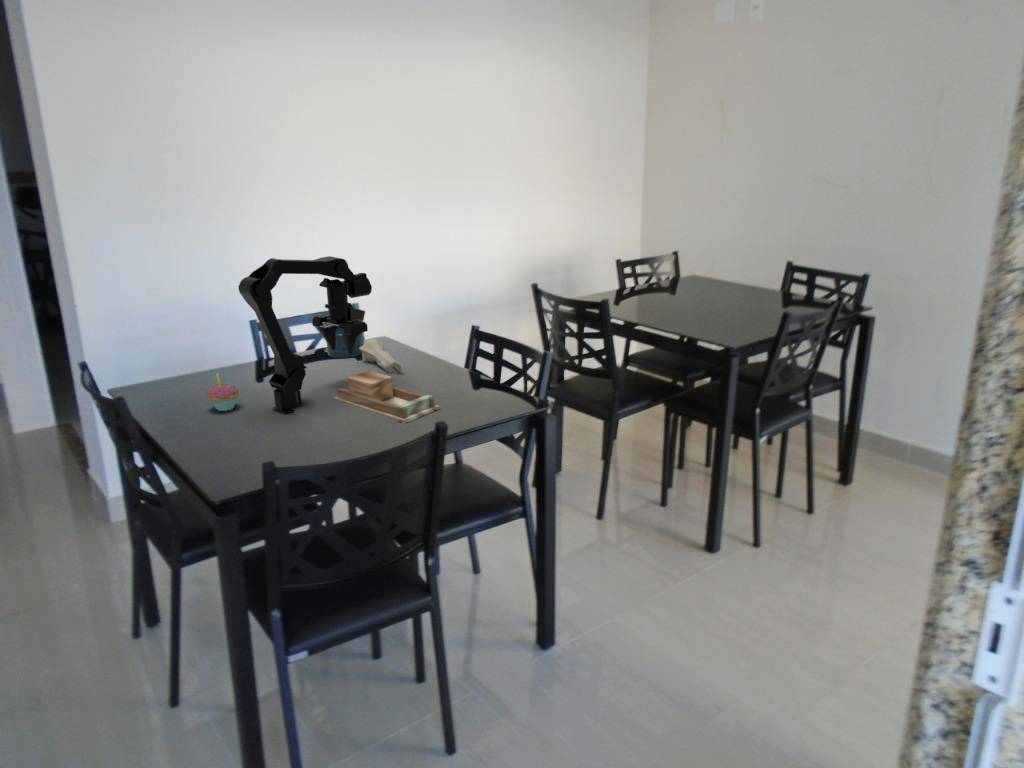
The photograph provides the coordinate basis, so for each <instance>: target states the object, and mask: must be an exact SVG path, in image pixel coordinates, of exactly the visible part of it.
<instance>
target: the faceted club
mask: <svg viewBox="0 0 1024 768" xmlns="http://www.w3.org/2000/svg"><path fill="white" fill-rule="evenodd" d="M359 349H360V350H361V351H362V354H361V356H362V358H363V359H365V360H366V361H368V362H371V363H374V362H376V363H377V365H378V366H380V367H382V368H383V370H385V372H387V373H392V374H398V373H399V372H401V371H402V370H403V369H402V363H401V362H400V361H398V360H396V359H394V358H393V357H392V356H391V354H390V353H389V352H388V351H386V350H385V346H384V342H383V341H381V340H380V339H379V338H376V337H374V338H370V339H366V340H365V342H363V346H361V347H360V348H359Z"/></svg>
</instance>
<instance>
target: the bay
mask: <svg viewBox="0 0 1024 768" xmlns="http://www.w3.org/2000/svg"><path fill="white" fill-rule="evenodd" d="M336 390H337V396H335V397H333V399H335V400H338V401H341V402H345V403H348V404H350V405H354V406H357V407H360V408H363V409H366V410H369V411H372V412H375V413H378V414H381V415H385V416H388V417H391V418H393V419H397V420H398V421H397V423H399V422H401V423H400V424H402V423H403V425H405V424H407V423H406V422H408V423H410V422H412V421H414V419H415V420H417V419H420V418H422V417H424V416H423V415H425V414H427V413H430V412H432V411H434V410H437V409H439V408H440V409H441V406H440V405H437V404H435V397H434V395H431V394H426V395H425V394H422V393H418V392H415V391H411V390H408V389H405V388H401V387H397V386H394V385H393V397H390V398H387V399H385V400H382V401H381V400H378V399H375V398H371V397H368V396H365V395H362V394H358V393H355V392H352V391H349V389H345V388H338V389H336ZM440 409H439V410H440ZM437 411H438V410H437ZM434 412H435V411H434ZM432 413H433V412H432ZM430 414H431V413H430ZM427 415H428V414H427ZM421 416H422V417H421ZM425 416H426V415H425ZM419 417H420V418H419ZM416 418H417V419H416ZM409 421H410V422H409ZM404 423H405V424H404Z"/></svg>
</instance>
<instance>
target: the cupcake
mask: <svg viewBox="0 0 1024 768" xmlns="http://www.w3.org/2000/svg"><path fill="white" fill-rule="evenodd" d="M215 375H216V378H217V379H216V380H217V385H216V386H213V387H212V388H210V389H209V390H208V392H207V399H208V400H209V402H211V403H212V404H213V406H214V408H215V409H217V410H219V411H225V410H230V411H232V410H234V409H235V404H236V401H237V399H238V397H239V395H240V393H239V390H238V388H237V387H236V386H233V385H230V384H224V383H223V384H222V383H221V379H220V374H219V372H216V374H215ZM233 408H234V409H233ZM231 409H232V410H231ZM217 410H216V411H217ZM219 411H218V412H219Z"/></svg>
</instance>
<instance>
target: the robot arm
mask: <svg viewBox="0 0 1024 768" xmlns="http://www.w3.org/2000/svg"><path fill="white" fill-rule="evenodd" d="M289 274H290V275H296V274H297V275H321V276H326V277H324V278H323V280H322V281H321V282H320V283H319V285H318V286H319V287H321V288H326V297H327V299H326V300H327V303H326V304H324V308H325V309H328V313H321V314H318V315H315V316H313V318H312V319H311V320H312V326H313V327H316V328H317V330H319V332H320V333H321V335H322V336H323V338H324V340H325V341H326V344H327V343H328V344H329V346H330V348H331V349H332V350H335V348H336V333H335V332H336V330H337V328H338V327H342V328H343V330H344V332H345V333H342V337H343V340H344V343H345V346H346V349H347V352H348V354H352V352H353V349H354V345H355V341H356V339H357V337H358V335H359V334H361V333H362V334H363V333H365V332H369V331H368V330H369V327H368V323H367V322H365V321H364V320H365V315H366V310H363V309H359V308H354V306H353V305H352V303H351V302H349V299H348V297H349V298H351V299H354V298H359V297H366V296H369V295H370V294H371V293H372V291H373V290H372V289H373V288H372V287H373V286H372V284H371V282H370V280H369V278H368V277H367V273H366V272H358V273H355V274H354V272H353V271H352V270H351V269H350V267H349V263H348V262H347V260H346V259H344V258H341V257H335V256H323V257H319V258H317V259H281V258H280V259H277V258H274V257H273V258H269V259H267V260H266V261H265V263H263V264H262V265H261V266H260V267H258V268H256V269H255V270H253V271H252V272H251V273H250V274H249V275H248V276H246V277H244V278H242V279H241V281H240V282H239V285H238V292H239V294H240V295H241V297H242V299H243V300H244V302H245V303H247V304H248V306H249V307H250V308H251V309H252V310H253V311H254V313H255V316H256V317H257V320H258V321H259V324H260V327H261V329H262V332H263V333H264V335H265V337H266V340H267V342H268V345H269V347H270V349H271V351H272V353H273V355H274V356H273V358H274V359H273V366H274V373H273V374H272V375H271V377H270V379H269V380H268V383H269V385H270V387H271V388H274V389H273V396H274V405H275V406H273V407H272V410H273V411H276V412H279V413H282V414H285V415H288V414H290V413H293V412H295V411H296V410H295V408H297V407H299V406H301V405H302V403H303V402H302V393H301V390H302V385H303V381H304V379H305V377H306V375H307V372H306V369H307V366H306V365H305V364H304V361H303V358H302V355H300V354H297V353H294V352H292V351H291V349H290V346H289V344H288V342H287V339H286V337H285V335H284V331H283V330H282V328H281V324H280V322H279V320H278V317H277V316H276V313H275V310H274V309H273V296H272V295H273V294H272V291H273V289H274V288H275V287H276V286H277V284H278V282H279V280H280V277H281V276H282V275H289ZM327 277H330V278H333V279H330V278H327ZM334 278H335V279H334ZM340 279H341V280H340ZM354 319H356V321H353V320H354ZM357 319H359V320H361V321H358V320H357ZM349 321H352V322H349Z"/></svg>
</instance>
